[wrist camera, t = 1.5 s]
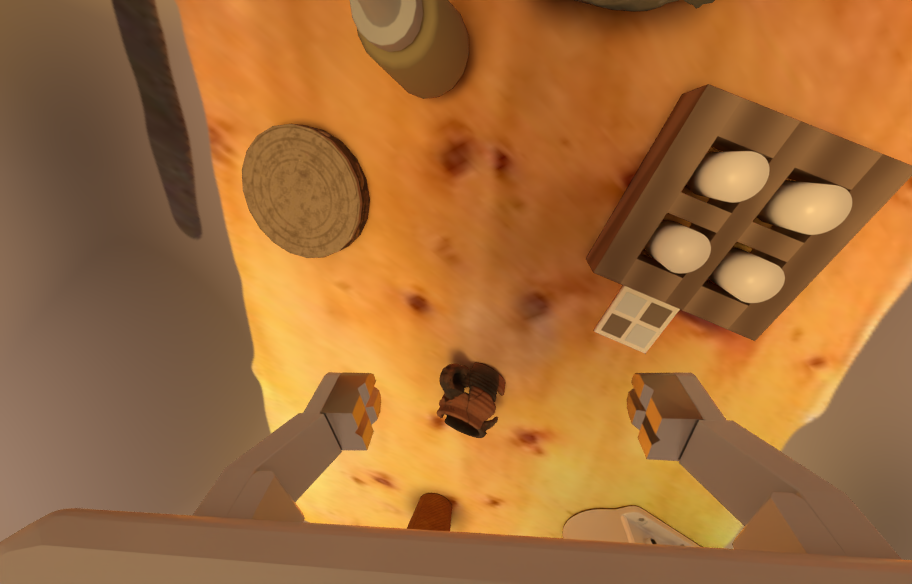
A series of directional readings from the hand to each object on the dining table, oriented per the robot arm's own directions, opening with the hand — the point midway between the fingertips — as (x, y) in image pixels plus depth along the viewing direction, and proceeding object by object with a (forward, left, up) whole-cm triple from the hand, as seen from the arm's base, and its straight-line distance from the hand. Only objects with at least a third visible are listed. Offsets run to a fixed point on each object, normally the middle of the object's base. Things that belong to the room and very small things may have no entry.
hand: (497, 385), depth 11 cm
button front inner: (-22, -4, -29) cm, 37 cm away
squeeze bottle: (+15, -11, -32) cm, 37 cm away
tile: (-18, +6, -31) cm, 37 cm away
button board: (-18, -7, -31) cm, 37 cm away
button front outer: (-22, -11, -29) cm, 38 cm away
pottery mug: (-4, +25, -32) cm, 41 cm away
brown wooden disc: (+26, +8, -32) cm, 42 cm away
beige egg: (-15, -11, -29) cm, 34 cm away
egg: (-15, -4, -29) cm, 33 cm away
